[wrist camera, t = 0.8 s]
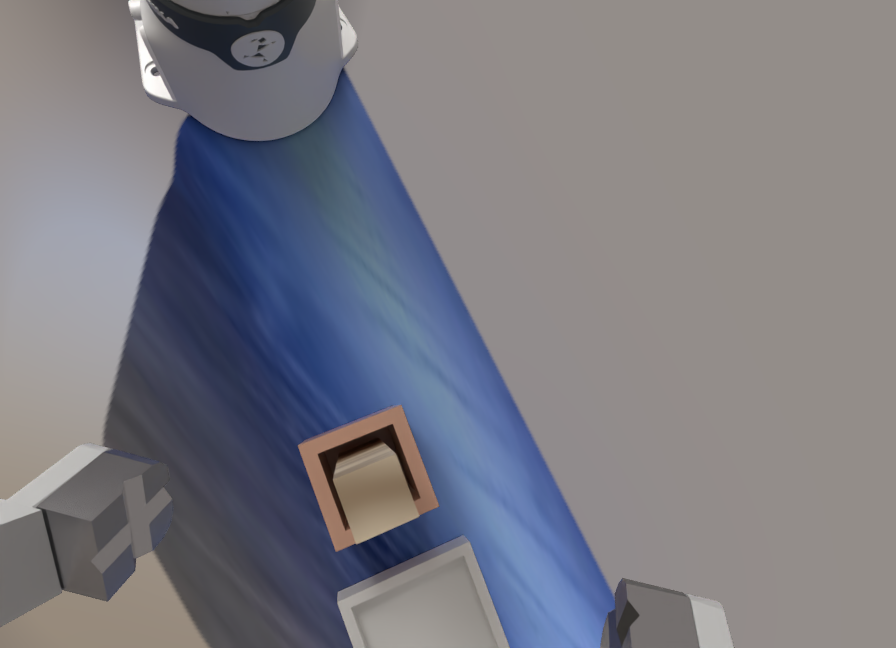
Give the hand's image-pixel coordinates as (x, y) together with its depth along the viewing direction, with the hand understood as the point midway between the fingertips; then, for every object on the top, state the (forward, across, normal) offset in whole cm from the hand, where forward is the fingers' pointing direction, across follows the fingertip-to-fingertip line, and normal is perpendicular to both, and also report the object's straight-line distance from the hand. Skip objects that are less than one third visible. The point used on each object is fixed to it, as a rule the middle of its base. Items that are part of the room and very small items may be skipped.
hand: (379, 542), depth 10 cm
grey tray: (+24, +2, +34) cm, 42 cm away
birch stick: (+28, +9, +23) cm, 38 cm away
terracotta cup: (+29, +9, +24) cm, 39 cm away
